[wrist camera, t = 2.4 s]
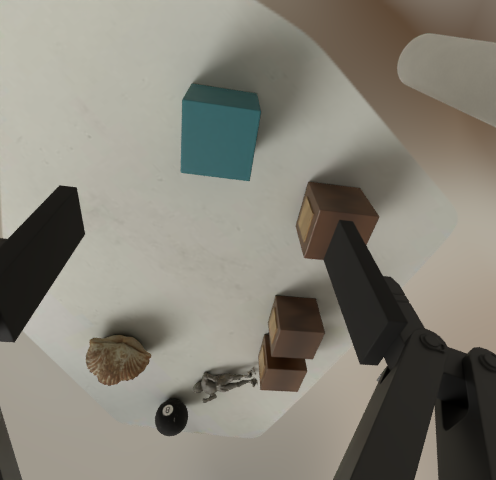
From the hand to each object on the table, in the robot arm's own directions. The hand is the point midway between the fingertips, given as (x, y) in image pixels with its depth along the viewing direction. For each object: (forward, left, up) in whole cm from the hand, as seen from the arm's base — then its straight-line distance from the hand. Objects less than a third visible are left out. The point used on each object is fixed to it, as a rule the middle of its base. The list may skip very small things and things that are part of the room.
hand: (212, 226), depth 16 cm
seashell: (+12, +36, -18) cm, 42 cm away
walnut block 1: (-13, +26, -18) cm, 34 cm away
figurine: (-5, +45, -18) cm, 49 cm away
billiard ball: (+4, +55, -18) cm, 58 cm away
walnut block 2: (-13, +35, -18) cm, 41 cm away
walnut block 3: (-13, +8, -18) cm, 23 cm away
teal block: (0, 0, -18) cm, 18 cm away
